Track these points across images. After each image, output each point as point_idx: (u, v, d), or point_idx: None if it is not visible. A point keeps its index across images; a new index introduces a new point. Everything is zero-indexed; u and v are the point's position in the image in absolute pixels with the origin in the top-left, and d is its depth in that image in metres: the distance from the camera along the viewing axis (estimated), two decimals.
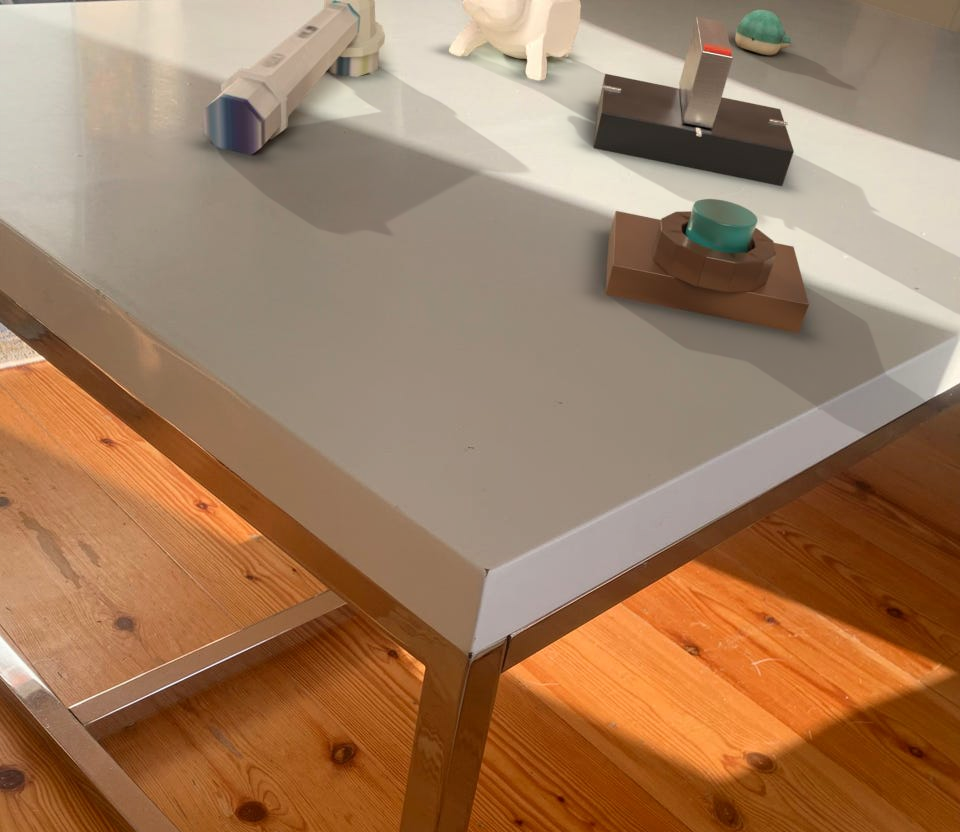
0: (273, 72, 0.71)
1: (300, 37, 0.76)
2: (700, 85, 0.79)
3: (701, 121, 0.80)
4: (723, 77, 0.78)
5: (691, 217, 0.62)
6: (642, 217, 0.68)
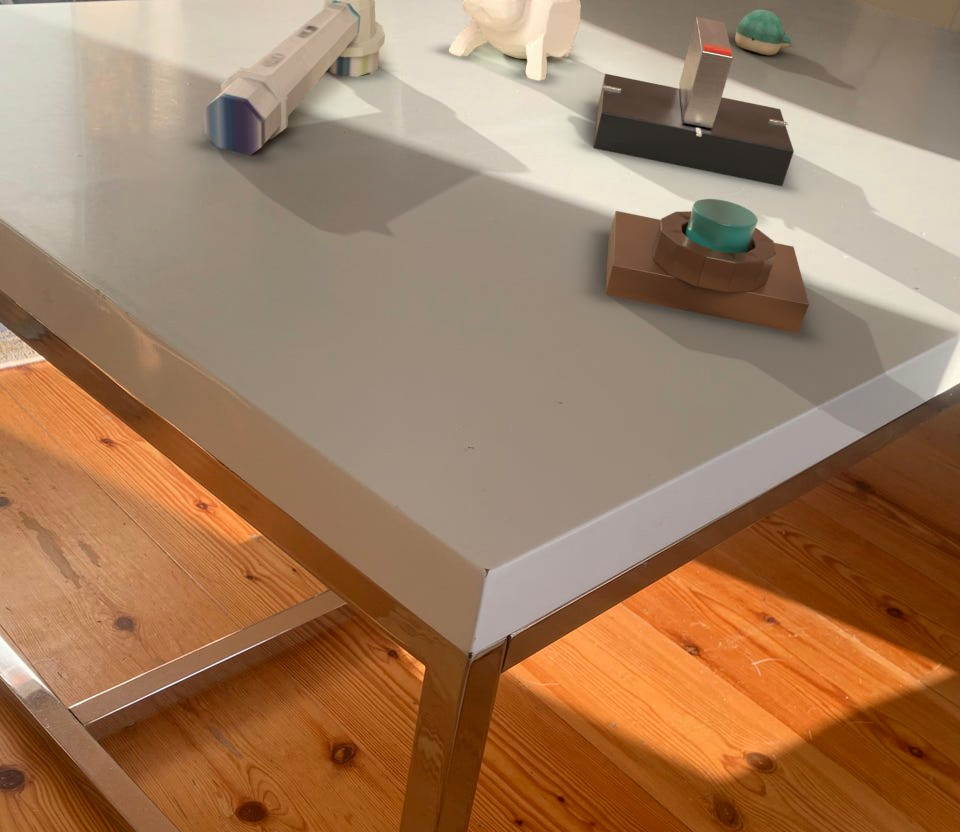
0: (273, 72, 0.71)
1: (300, 37, 0.76)
2: (700, 85, 0.79)
3: (701, 121, 0.80)
4: (723, 77, 0.78)
5: (691, 217, 0.62)
6: (642, 217, 0.68)
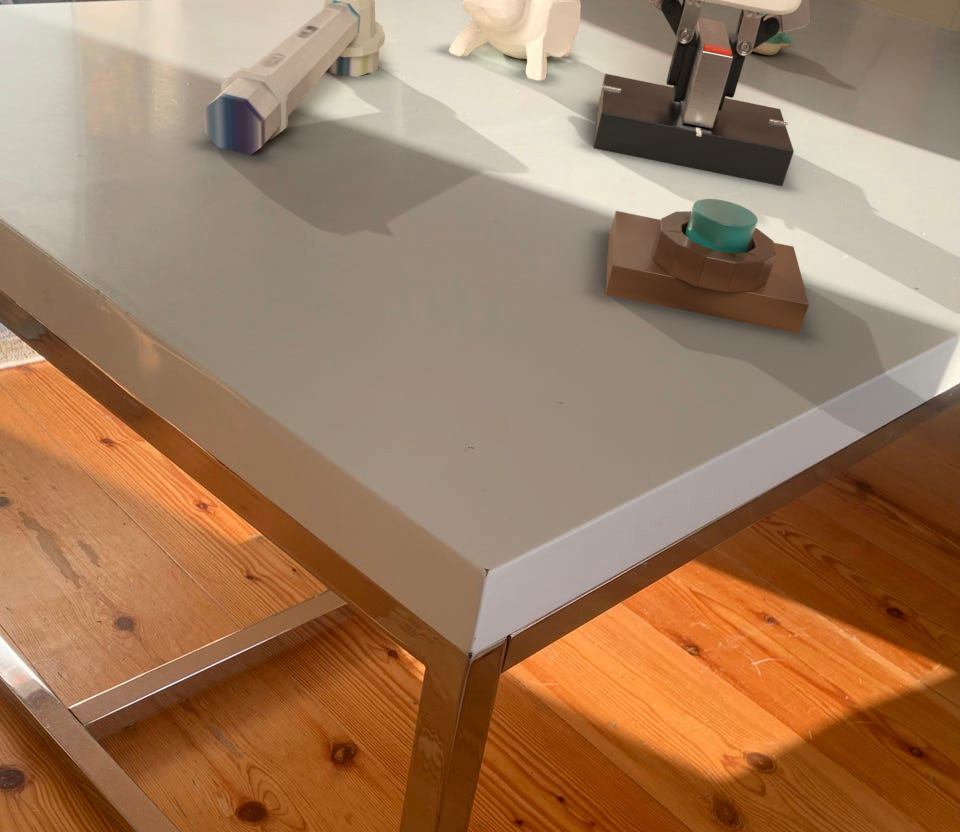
0: (273, 72, 0.71)
1: (300, 37, 0.76)
2: (700, 85, 0.79)
3: (701, 121, 0.80)
4: (723, 77, 0.78)
5: (691, 217, 0.62)
6: (642, 217, 0.68)
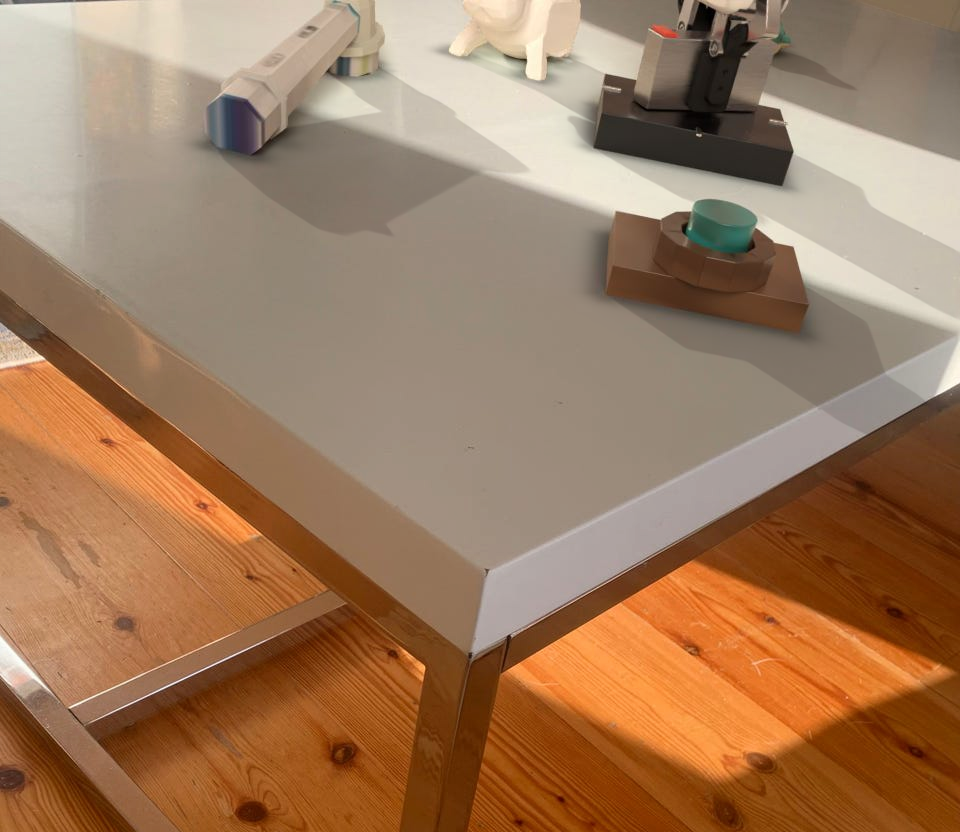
0: (273, 72, 0.71)
1: (300, 37, 0.76)
2: (644, 62, 0.81)
3: (641, 99, 0.82)
4: (656, 57, 0.80)
5: (691, 217, 0.62)
6: (642, 217, 0.68)
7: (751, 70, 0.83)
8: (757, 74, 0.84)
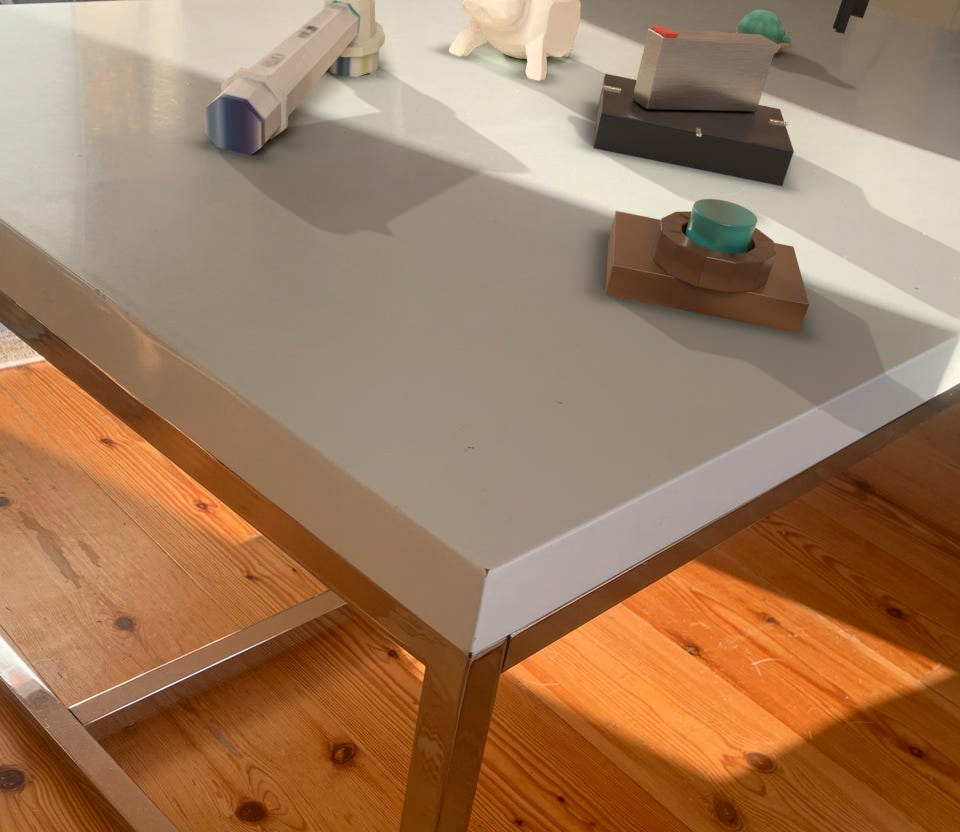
0: (273, 72, 0.71)
1: (300, 37, 0.76)
2: (644, 62, 0.81)
3: (641, 99, 0.82)
4: (656, 57, 0.80)
5: (691, 217, 0.62)
6: (642, 217, 0.68)
7: (751, 70, 0.83)
8: (757, 74, 0.84)
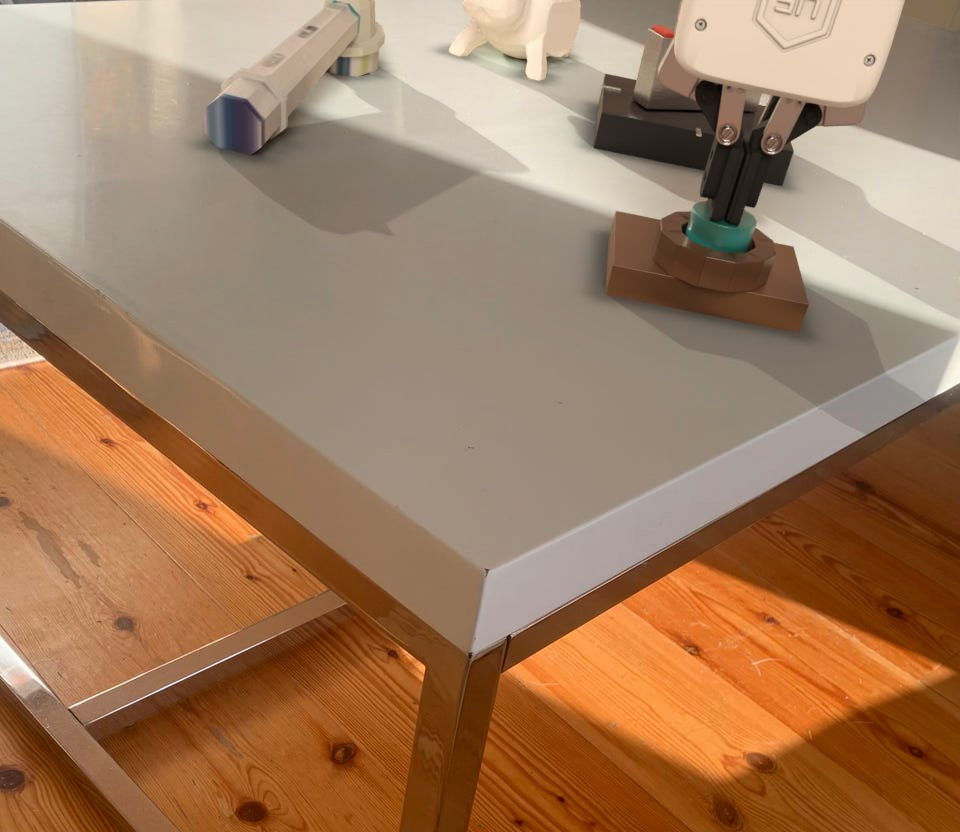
0: (273, 72, 0.71)
1: (300, 37, 0.76)
2: (644, 62, 0.81)
3: (641, 99, 0.82)
4: (656, 57, 0.80)
5: (690, 219, 0.62)
6: (642, 217, 0.68)
7: None
8: None
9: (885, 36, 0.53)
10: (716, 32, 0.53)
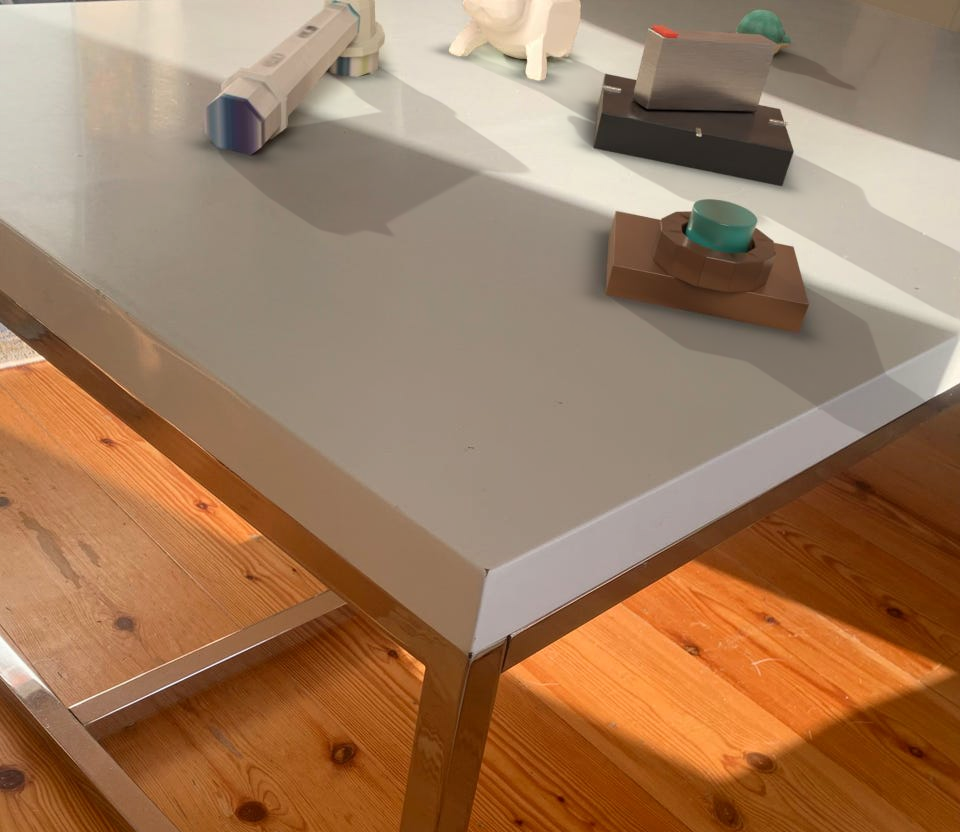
0: (273, 72, 0.71)
1: (300, 37, 0.76)
2: (644, 62, 0.81)
3: (641, 99, 0.82)
4: (656, 57, 0.80)
5: (691, 217, 0.62)
6: (642, 217, 0.68)
7: (751, 70, 0.83)
8: (757, 74, 0.84)
9: None
10: None
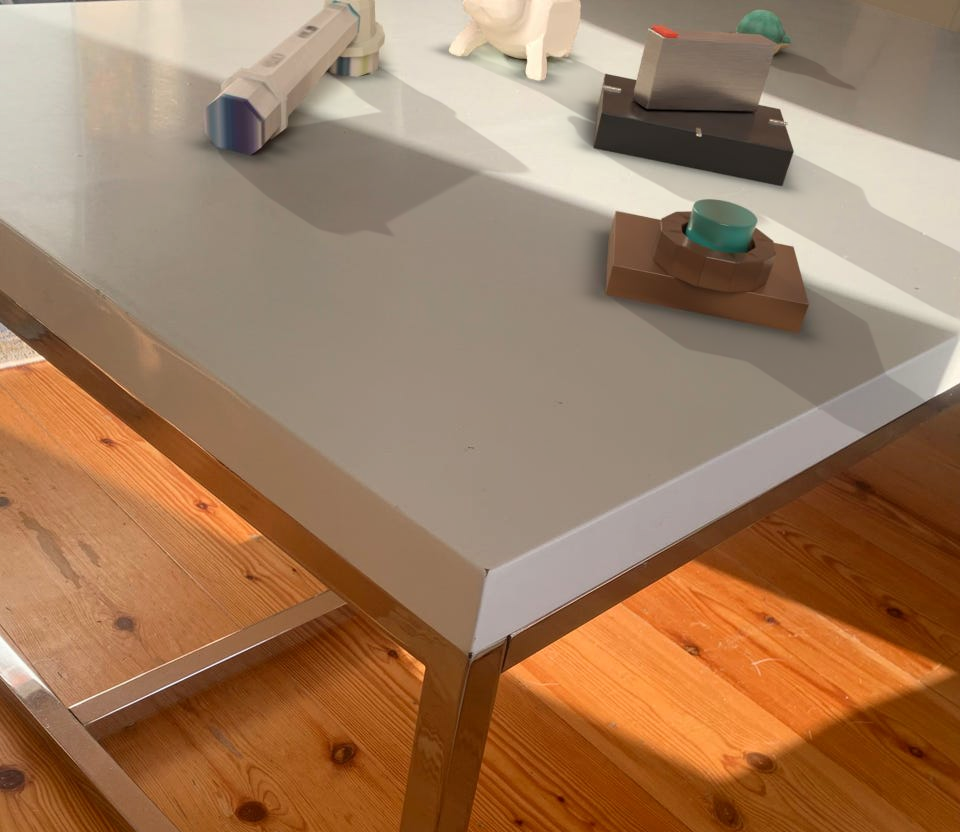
0: (273, 72, 0.71)
1: (300, 37, 0.76)
2: (644, 62, 0.81)
3: (641, 99, 0.82)
4: (656, 57, 0.80)
5: (691, 217, 0.62)
6: (642, 217, 0.68)
7: (751, 70, 0.83)
8: (757, 74, 0.84)
9: None
10: None
